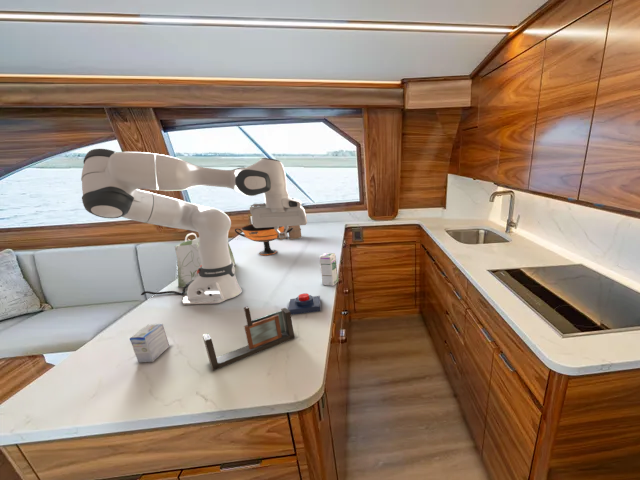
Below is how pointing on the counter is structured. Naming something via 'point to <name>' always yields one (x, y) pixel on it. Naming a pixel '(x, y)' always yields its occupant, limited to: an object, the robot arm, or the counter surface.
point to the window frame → (245, 351)
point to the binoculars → (293, 232)
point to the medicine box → (149, 342)
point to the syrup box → (328, 269)
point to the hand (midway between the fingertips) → (282, 237)
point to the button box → (304, 305)
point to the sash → (261, 330)
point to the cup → (262, 236)
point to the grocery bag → (190, 260)
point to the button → (303, 297)
